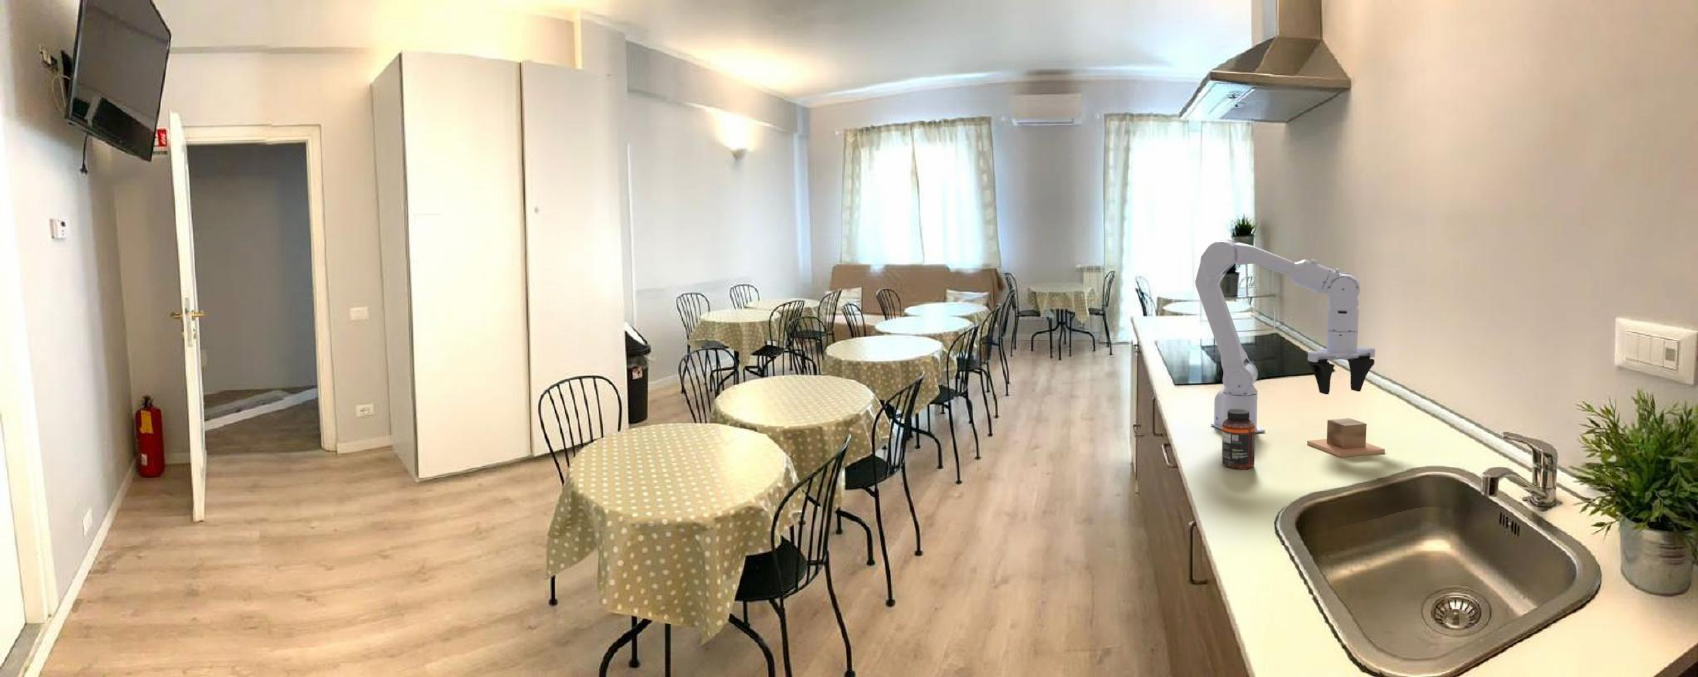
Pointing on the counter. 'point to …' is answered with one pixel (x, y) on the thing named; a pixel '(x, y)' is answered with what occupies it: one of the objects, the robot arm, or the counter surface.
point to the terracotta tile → (1341, 452)
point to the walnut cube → (1346, 433)
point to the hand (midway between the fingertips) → (1340, 392)
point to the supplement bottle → (1238, 440)
